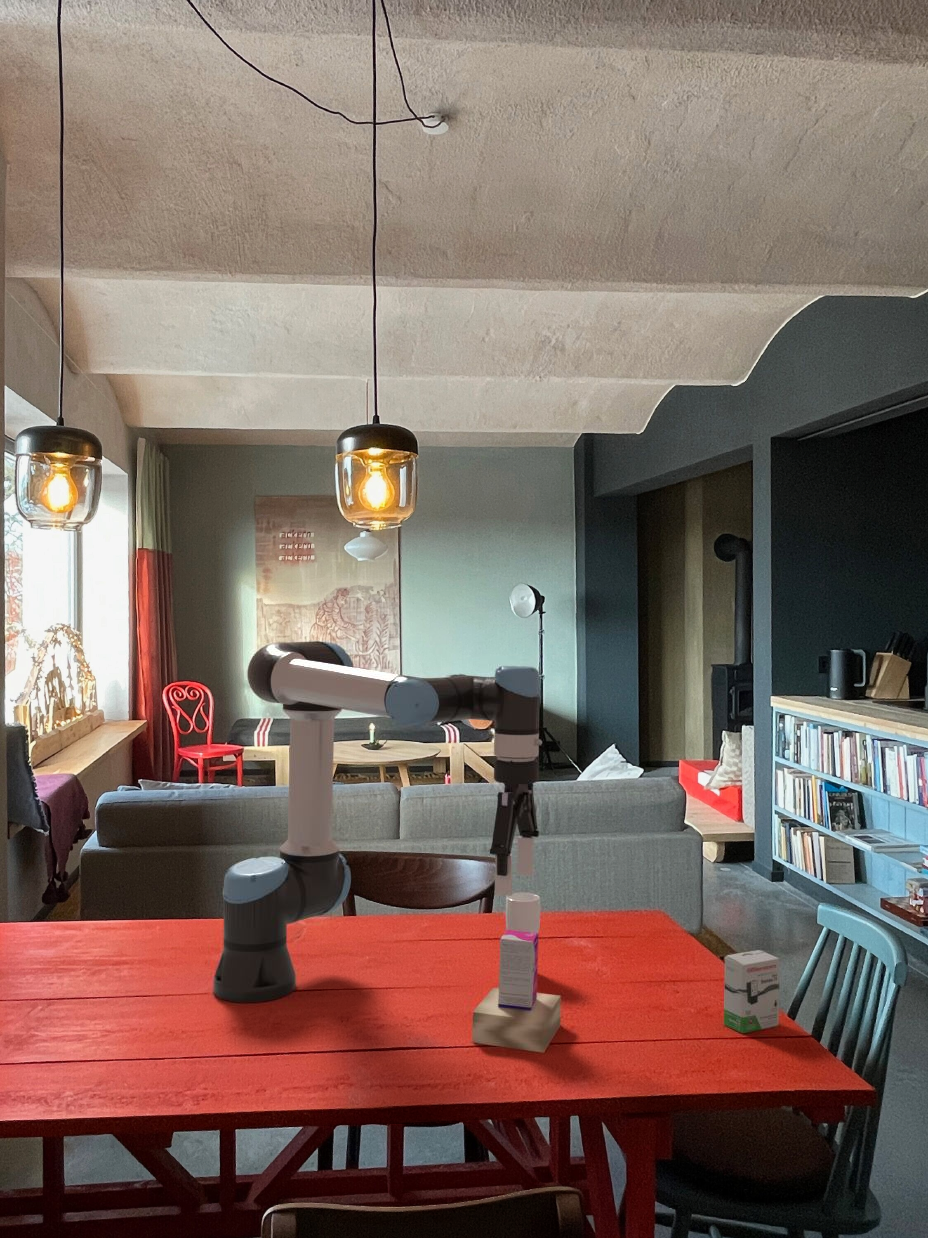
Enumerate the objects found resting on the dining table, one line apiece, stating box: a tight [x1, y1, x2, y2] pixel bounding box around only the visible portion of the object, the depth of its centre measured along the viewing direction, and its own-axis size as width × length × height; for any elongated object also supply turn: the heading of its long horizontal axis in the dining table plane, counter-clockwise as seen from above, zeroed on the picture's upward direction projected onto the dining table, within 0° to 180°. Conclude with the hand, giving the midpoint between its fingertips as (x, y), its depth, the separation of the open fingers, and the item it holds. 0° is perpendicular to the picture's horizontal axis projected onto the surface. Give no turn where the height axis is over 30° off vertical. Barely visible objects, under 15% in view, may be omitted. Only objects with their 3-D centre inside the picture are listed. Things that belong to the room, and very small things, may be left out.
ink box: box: [723, 949, 781, 1034], centre depth 178 cm, size 9×5×12 cm, turn 118°
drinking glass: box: [505, 892, 541, 935], centre depth 204 cm, size 7×7×15 cm
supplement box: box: [498, 929, 540, 1011], centre depth 174 cm, size 6×6×12 cm
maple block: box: [472, 987, 562, 1054], centre depth 174 cm, size 12×12×5 cm
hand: (514, 884), depth 175 cm, fingers open, 13 cm apart
